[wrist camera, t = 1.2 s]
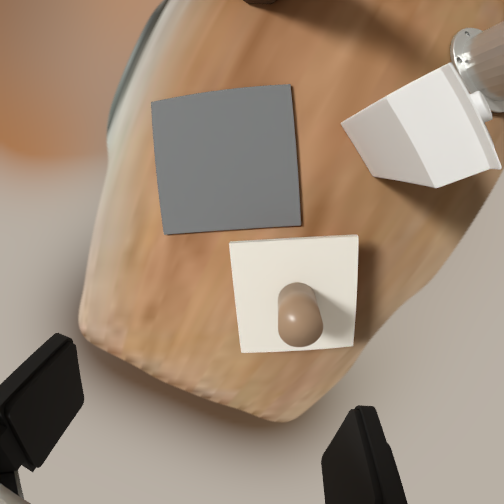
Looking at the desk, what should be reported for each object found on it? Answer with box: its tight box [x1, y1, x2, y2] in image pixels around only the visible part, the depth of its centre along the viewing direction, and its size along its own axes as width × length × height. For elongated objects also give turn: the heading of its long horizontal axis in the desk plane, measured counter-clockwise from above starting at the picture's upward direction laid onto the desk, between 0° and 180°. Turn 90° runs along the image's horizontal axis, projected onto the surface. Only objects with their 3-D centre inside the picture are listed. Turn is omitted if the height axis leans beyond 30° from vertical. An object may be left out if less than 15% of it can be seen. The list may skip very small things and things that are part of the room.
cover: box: [229, 235, 358, 353], centre depth 29 cm, size 13×13×7 cm
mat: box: [151, 84, 301, 235], centre depth 33 cm, size 16×16×1 cm
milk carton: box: [341, 63, 501, 188], centre depth 22 cm, size 7×7×19 cm
